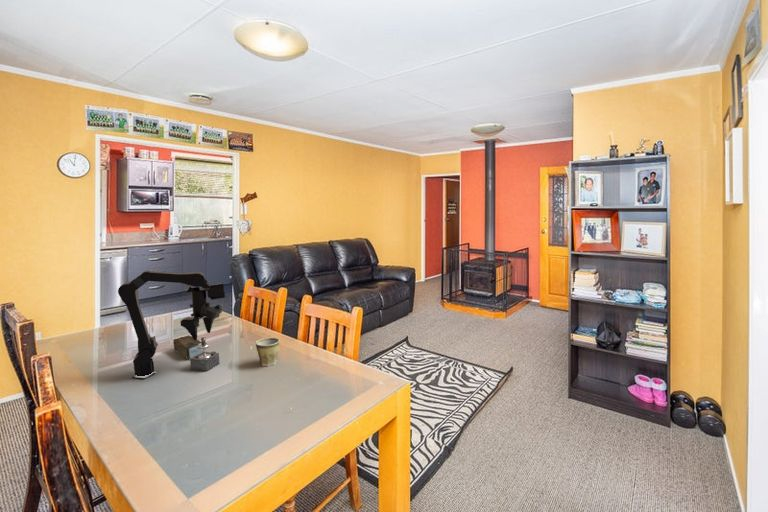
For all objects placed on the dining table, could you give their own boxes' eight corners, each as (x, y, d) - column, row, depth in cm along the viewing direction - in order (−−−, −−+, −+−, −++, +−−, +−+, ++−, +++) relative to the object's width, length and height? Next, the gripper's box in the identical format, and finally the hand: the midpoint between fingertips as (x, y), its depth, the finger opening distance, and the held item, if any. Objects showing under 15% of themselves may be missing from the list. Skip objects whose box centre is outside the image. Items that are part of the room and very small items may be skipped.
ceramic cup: (273, 368, 164) (272, 346, 162) (252, 367, 166) (251, 344, 164) (287, 357, 176) (286, 335, 175) (267, 355, 178) (266, 334, 177)
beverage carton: (189, 361, 174) (187, 347, 174) (173, 351, 187) (172, 338, 186) (207, 355, 180) (205, 342, 179) (190, 346, 193) (189, 334, 192)
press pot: (206, 371, 162) (205, 360, 162) (191, 369, 164) (190, 358, 164) (222, 362, 172) (221, 351, 171) (207, 360, 174) (206, 350, 173)
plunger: (205, 359, 163) (203, 340, 162) (195, 358, 165) (194, 339, 164) (213, 355, 168) (212, 336, 167) (203, 354, 170) (202, 335, 168)
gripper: (202, 307, 155) (206, 344, 157) (228, 296, 173) (231, 330, 175) (177, 306, 157) (181, 343, 159) (206, 296, 175) (209, 329, 177)
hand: (202, 336), depth 167 cm, fingers open, 9 cm apart
